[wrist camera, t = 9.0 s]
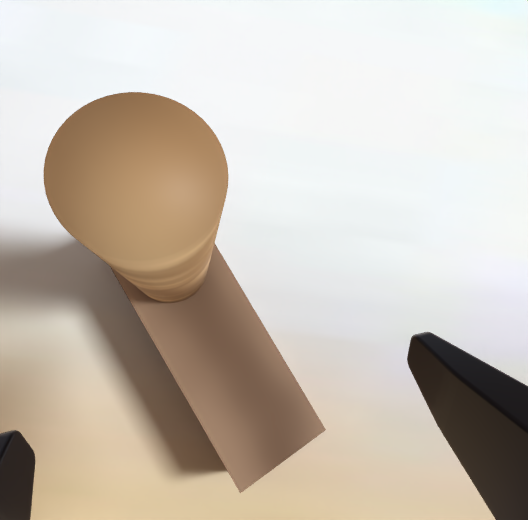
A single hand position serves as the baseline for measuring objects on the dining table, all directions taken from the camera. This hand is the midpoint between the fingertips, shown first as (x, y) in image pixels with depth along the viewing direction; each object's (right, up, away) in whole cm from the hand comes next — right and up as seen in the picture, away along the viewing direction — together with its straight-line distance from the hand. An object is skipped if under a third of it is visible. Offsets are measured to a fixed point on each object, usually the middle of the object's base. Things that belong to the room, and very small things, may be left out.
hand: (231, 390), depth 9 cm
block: (-2, -1, +13) cm, 14 cm away
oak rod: (-4, +3, +11) cm, 12 cm away
